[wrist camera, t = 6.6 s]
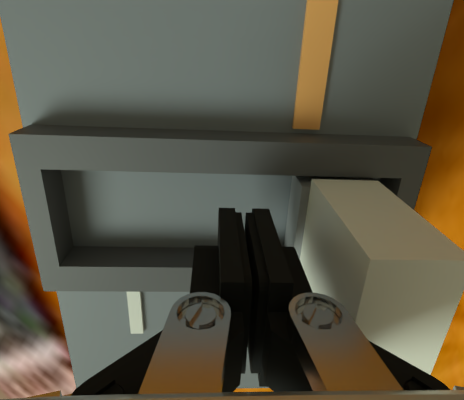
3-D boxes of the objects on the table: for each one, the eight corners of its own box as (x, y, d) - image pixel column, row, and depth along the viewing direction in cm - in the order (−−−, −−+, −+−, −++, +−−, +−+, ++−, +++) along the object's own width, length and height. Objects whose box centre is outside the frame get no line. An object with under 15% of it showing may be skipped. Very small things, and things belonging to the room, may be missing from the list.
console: (4, -128, 11) (-79, -196, 8) (444, -95, 12) (526, -145, 9) (89, 359, 20) (65, 417, 17) (339, 357, 21) (361, 412, 18)
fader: (293, 164, 14) (356, 259, 8) (367, 166, 14) (488, 260, 8) (283, 251, 15) (328, 385, 9) (349, 251, 15) (436, 384, 9)
